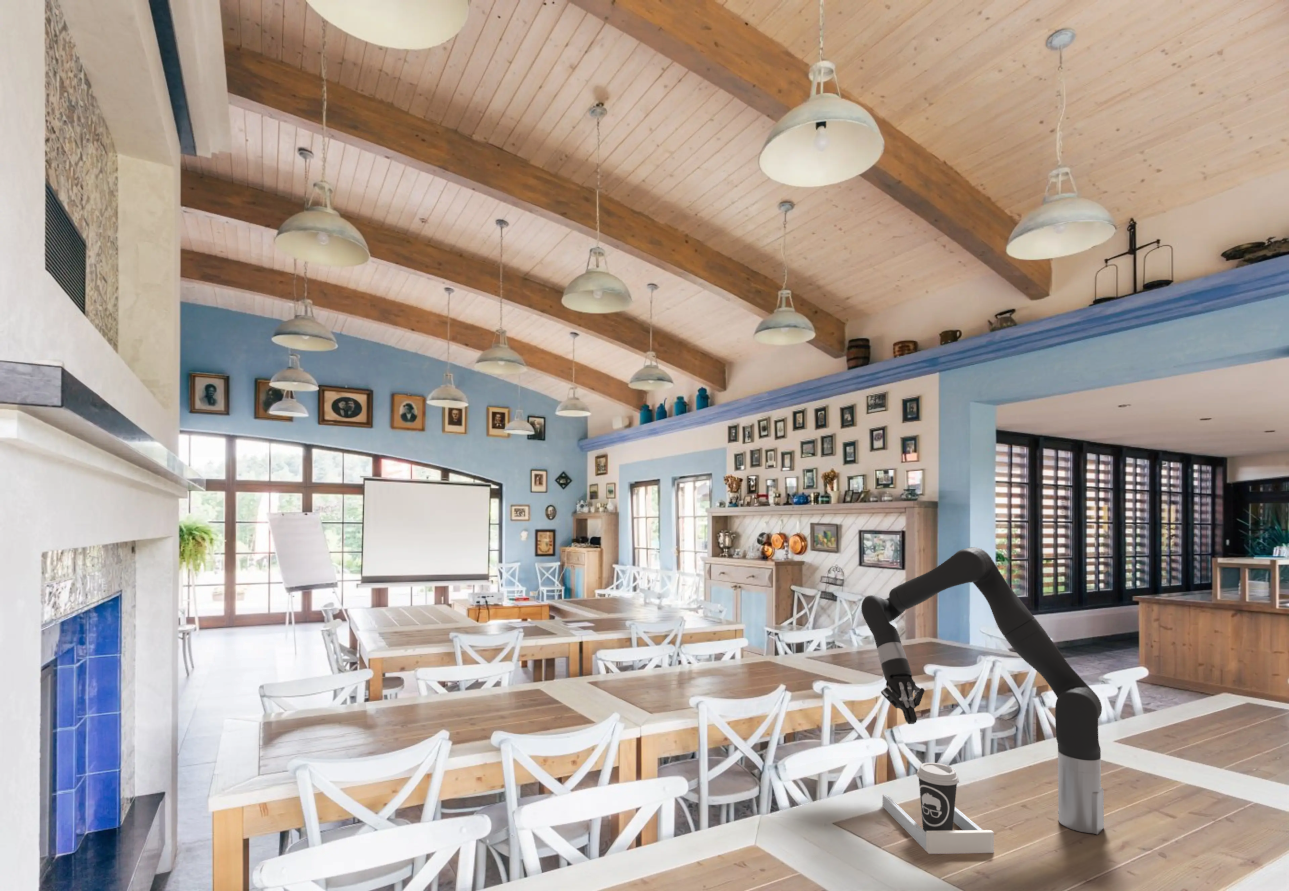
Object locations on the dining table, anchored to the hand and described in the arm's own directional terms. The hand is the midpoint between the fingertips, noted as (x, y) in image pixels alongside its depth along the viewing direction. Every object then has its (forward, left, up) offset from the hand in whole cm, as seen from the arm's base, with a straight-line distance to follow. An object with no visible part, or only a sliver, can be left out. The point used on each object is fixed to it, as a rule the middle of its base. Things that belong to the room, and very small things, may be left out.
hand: (912, 723), depth 200 cm
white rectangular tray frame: (-13, +16, -19) cm, 28 cm away
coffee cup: (-15, +18, -19) cm, 30 cm away
